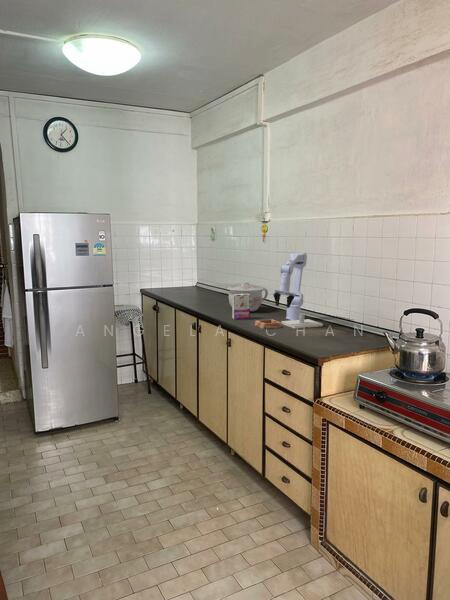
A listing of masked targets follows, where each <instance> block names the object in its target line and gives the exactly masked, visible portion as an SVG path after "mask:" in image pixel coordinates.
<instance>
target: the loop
mask: <svg viewBox="0 0 450 600" xmlns="http://www.w3.org/2000/svg"><path fill="white" fill-rule="evenodd" d="M282 325H283V324H282V323H281V321H278V320H275V319H273V318H271V319H270V318H269V319H259V320H254V326H256V327H258V328H260V329H263V330H269V329H270V330H272V329H281V328H282Z"/></svg>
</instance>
